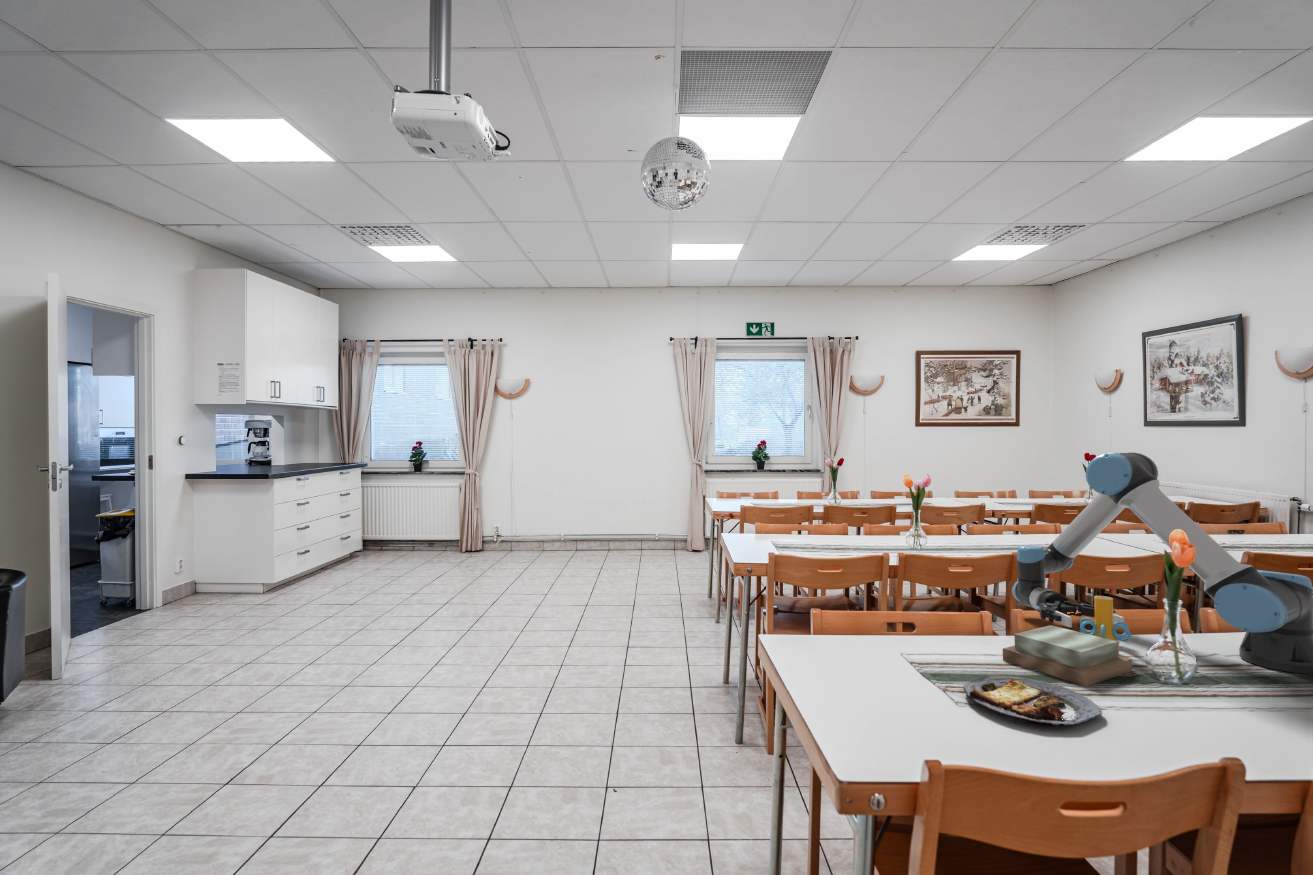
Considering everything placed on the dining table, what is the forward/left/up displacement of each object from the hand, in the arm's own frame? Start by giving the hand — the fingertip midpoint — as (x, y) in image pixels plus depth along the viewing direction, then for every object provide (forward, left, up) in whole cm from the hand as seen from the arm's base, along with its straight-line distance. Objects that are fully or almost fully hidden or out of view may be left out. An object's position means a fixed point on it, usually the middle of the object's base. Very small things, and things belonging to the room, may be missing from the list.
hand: (1096, 622), depth 162 cm
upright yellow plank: (-2, 0, -8) cm, 8 cm away
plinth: (-2, +18, -8) cm, 20 cm away
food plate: (-12, +50, -8) cm, 52 cm away
